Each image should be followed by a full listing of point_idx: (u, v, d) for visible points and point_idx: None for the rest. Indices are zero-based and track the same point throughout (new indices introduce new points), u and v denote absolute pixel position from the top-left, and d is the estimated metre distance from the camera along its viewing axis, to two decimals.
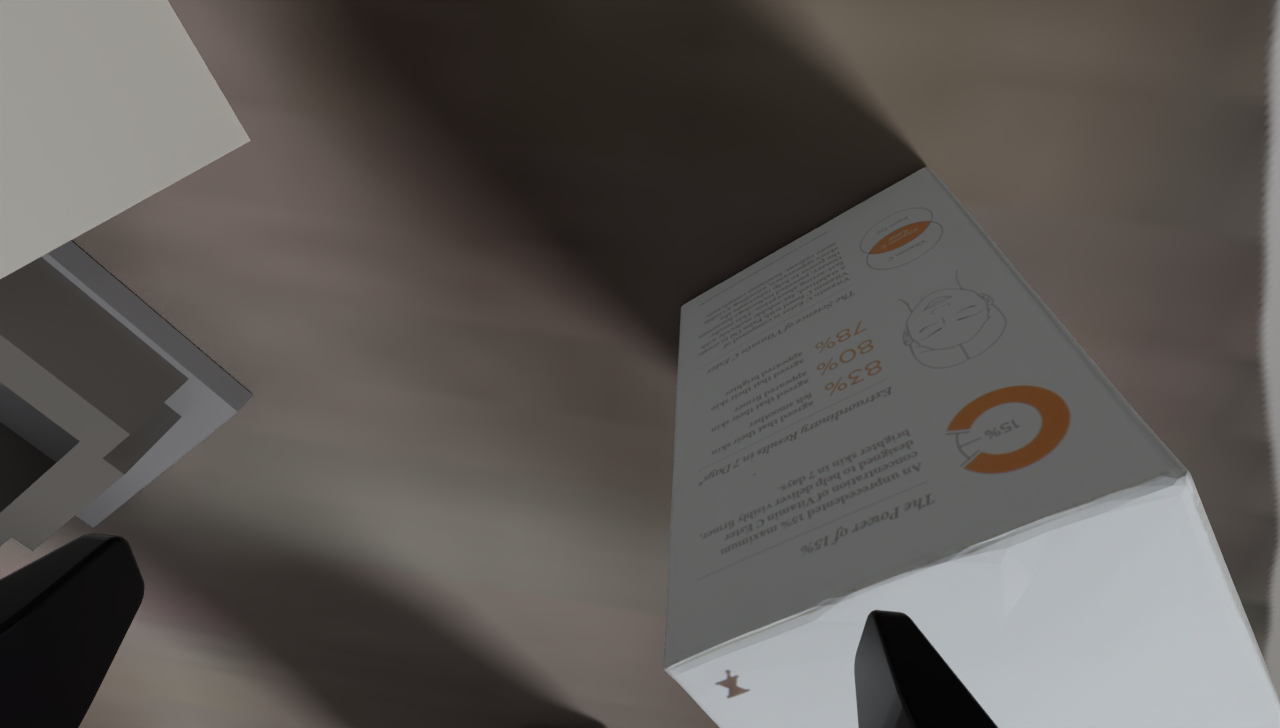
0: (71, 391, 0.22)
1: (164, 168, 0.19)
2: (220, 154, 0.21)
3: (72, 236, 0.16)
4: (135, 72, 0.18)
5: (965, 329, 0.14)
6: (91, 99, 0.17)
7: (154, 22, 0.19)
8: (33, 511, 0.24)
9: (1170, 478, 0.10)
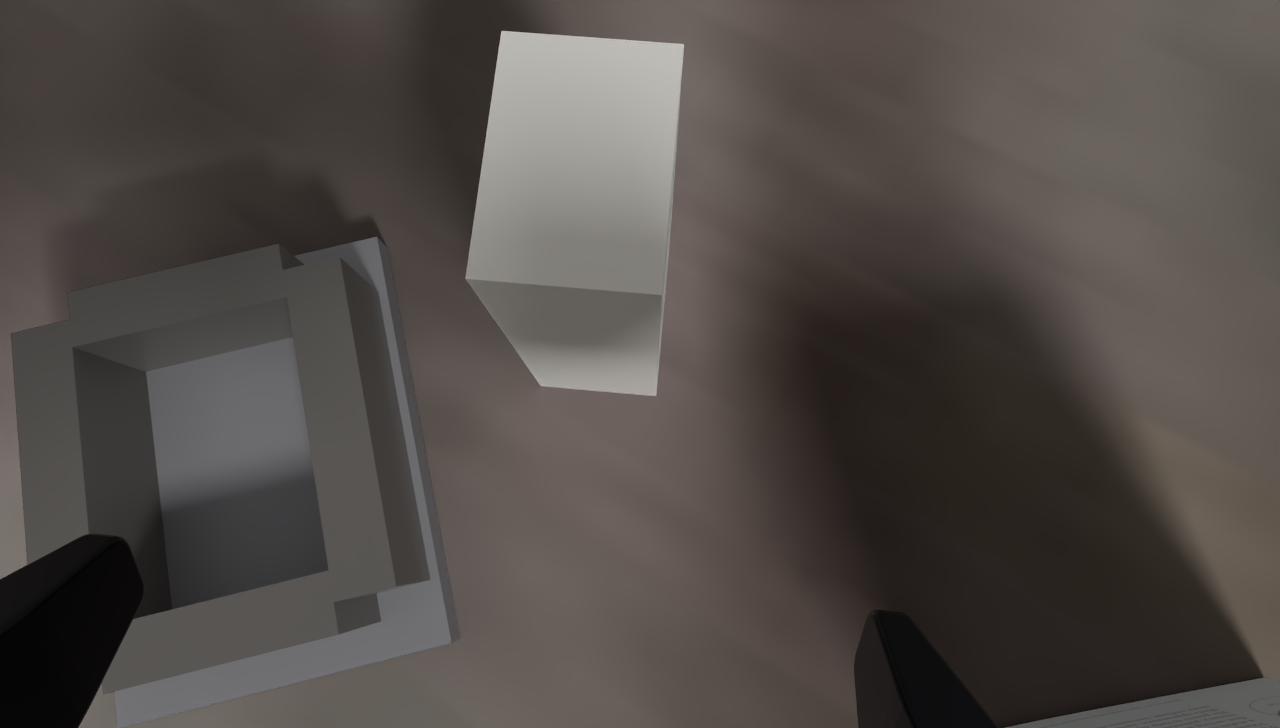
0: (380, 509, 0.19)
1: None
2: (656, 384, 0.22)
3: (660, 333, 0.17)
4: None
5: None
6: (665, 278, 0.20)
7: None
8: (171, 637, 0.18)
9: None
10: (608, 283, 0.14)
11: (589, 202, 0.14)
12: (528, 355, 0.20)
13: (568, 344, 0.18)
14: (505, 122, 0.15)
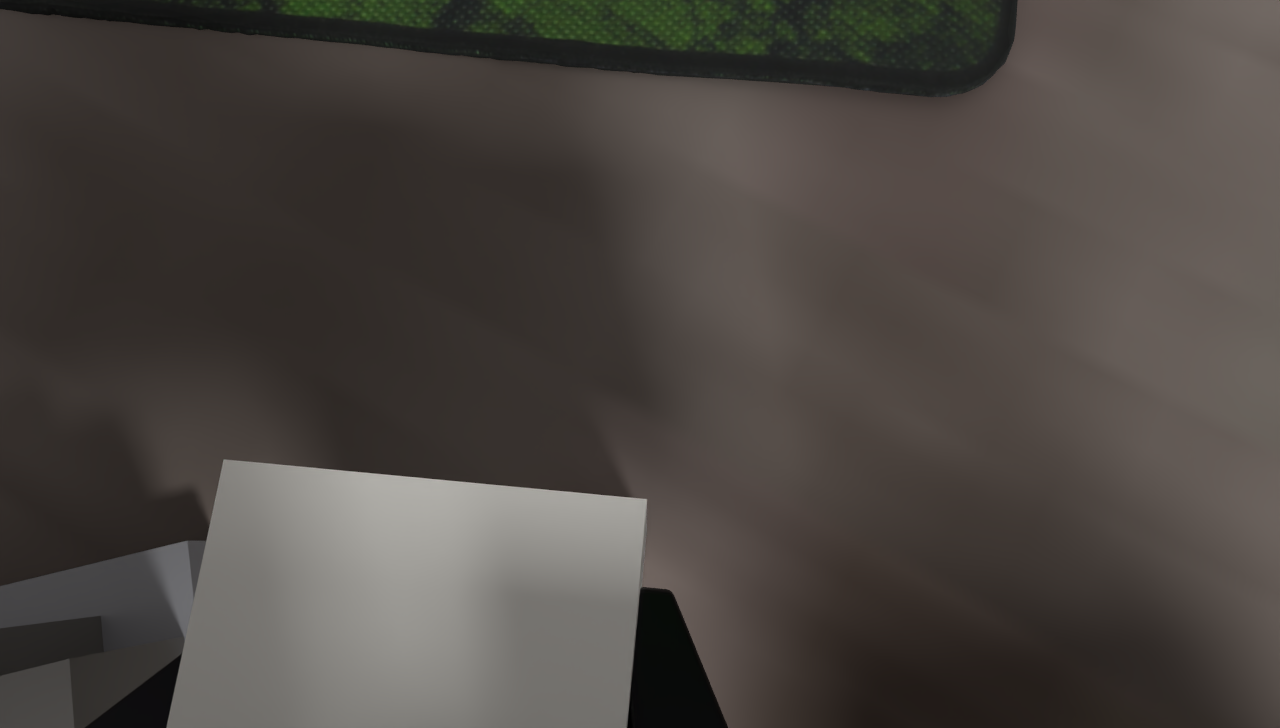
0: None
1: None
2: None
3: None
4: None
5: None
6: None
7: None
8: None
9: None
10: None
11: None
12: None
13: None
14: (212, 713, 0.06)
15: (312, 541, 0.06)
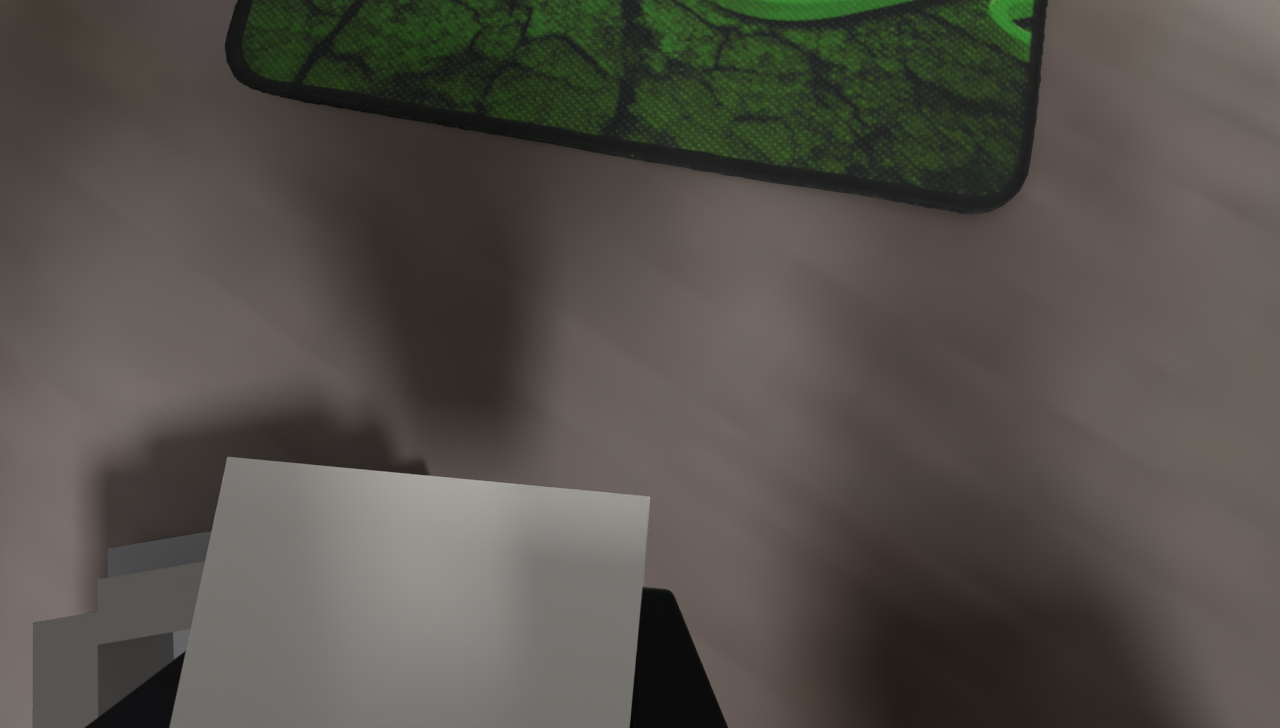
0: None
1: None
2: None
3: None
4: None
5: None
6: None
7: None
8: None
9: None
10: None
11: None
12: None
13: None
14: (215, 710, 0.06)
15: (315, 538, 0.06)
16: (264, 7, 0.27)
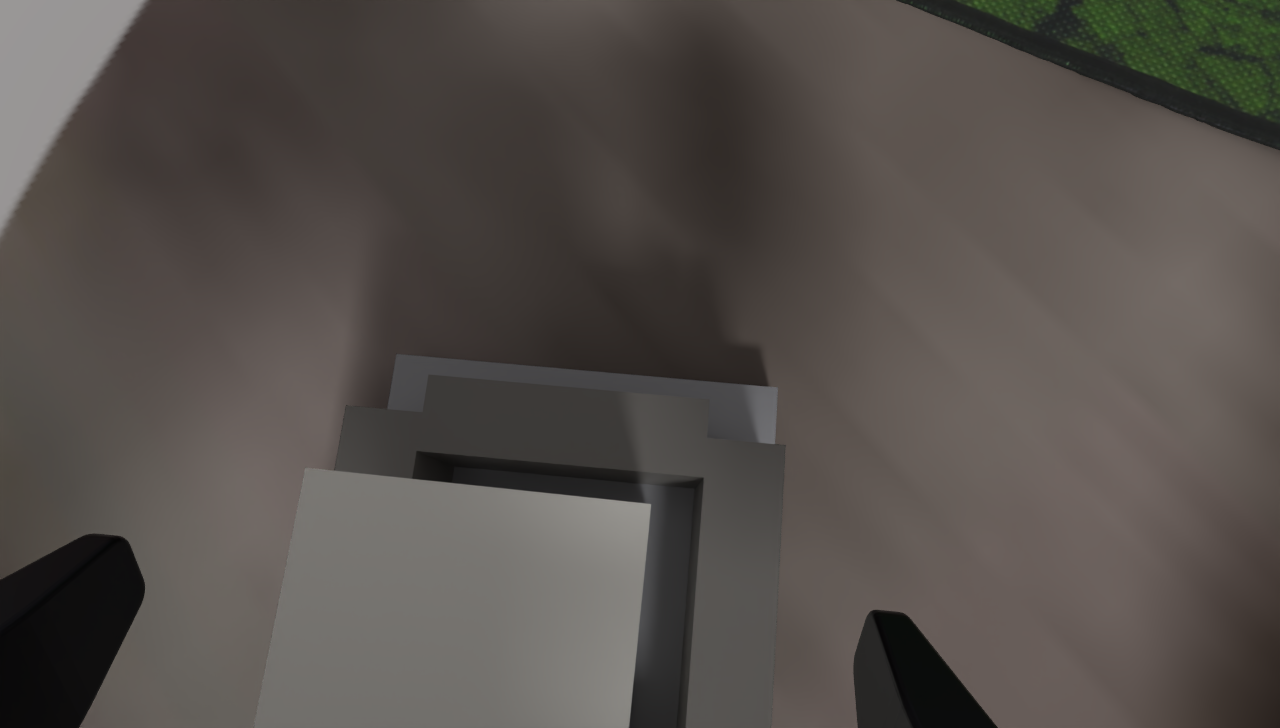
0: None
1: None
2: None
3: None
4: None
5: None
6: None
7: None
8: None
9: None
10: None
11: None
12: None
13: None
14: (298, 673, 0.07)
15: (378, 535, 0.08)
16: None
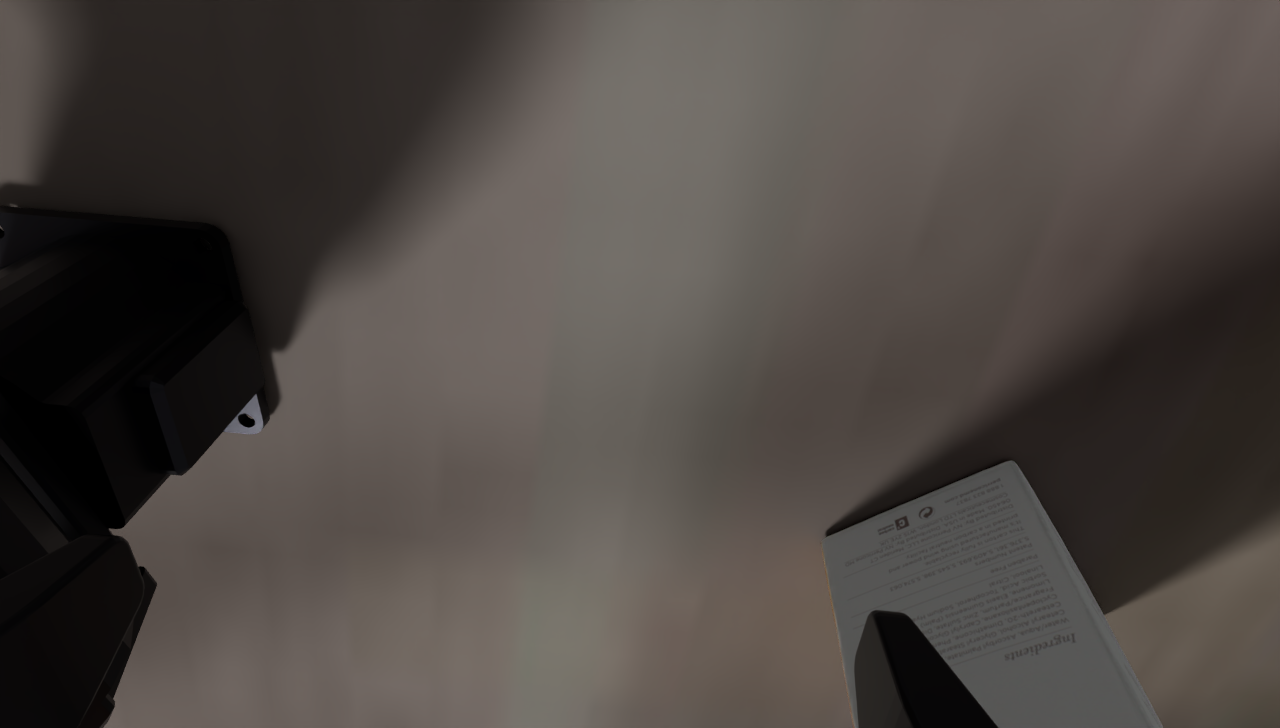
0: None
1: None
2: None
3: None
4: None
5: None
6: None
7: None
8: None
9: None
10: None
11: None
12: None
13: None
14: None
15: None
16: None
